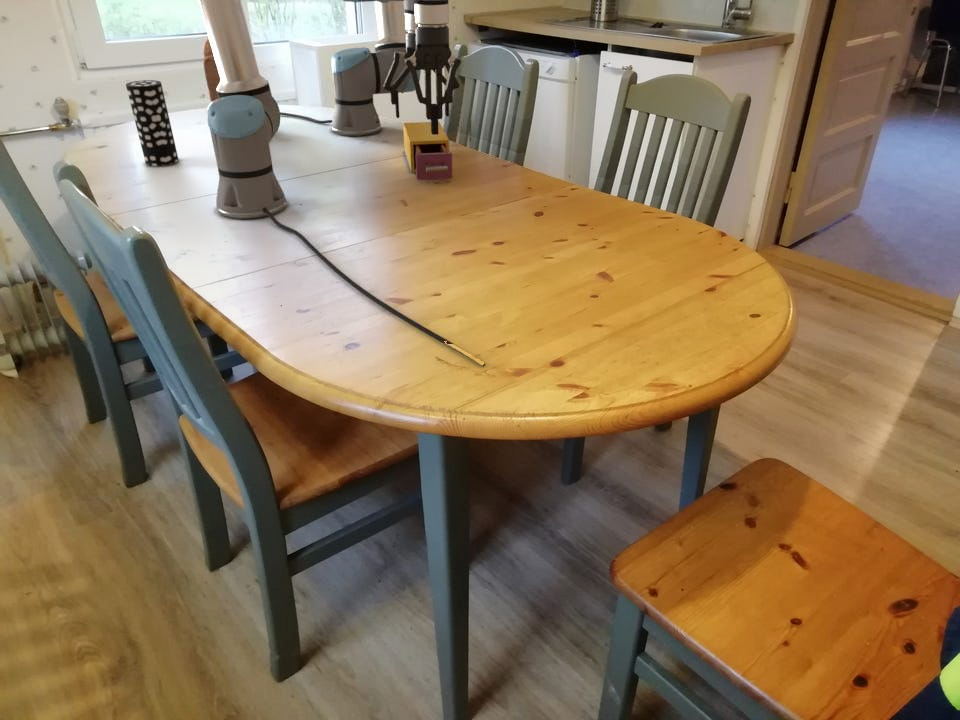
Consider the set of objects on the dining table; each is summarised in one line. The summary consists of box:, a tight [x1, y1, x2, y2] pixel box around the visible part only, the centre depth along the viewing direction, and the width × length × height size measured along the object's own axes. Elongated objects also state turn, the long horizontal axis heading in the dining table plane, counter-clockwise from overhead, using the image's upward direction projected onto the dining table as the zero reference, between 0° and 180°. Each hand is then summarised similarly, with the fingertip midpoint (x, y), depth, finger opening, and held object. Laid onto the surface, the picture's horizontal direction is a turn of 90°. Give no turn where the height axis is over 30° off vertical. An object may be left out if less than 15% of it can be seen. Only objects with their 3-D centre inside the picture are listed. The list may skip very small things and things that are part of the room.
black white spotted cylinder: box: [125, 79, 179, 167], centre depth 181 cm, size 8×8×20 cm
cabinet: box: [402, 121, 450, 174], centre depth 188 cm, size 19×10×8 cm, turn 10°
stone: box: [202, 36, 221, 104], centre depth 205 cm, size 22×11×28 cm, turn 18°
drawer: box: [413, 144, 453, 181], centre depth 178 cm, size 23×9×6 cm, turn 10°
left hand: (434, 132), depth 166 cm, fingers closed
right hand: (422, 116), depth 189 cm, fingers open, 13 cm apart
